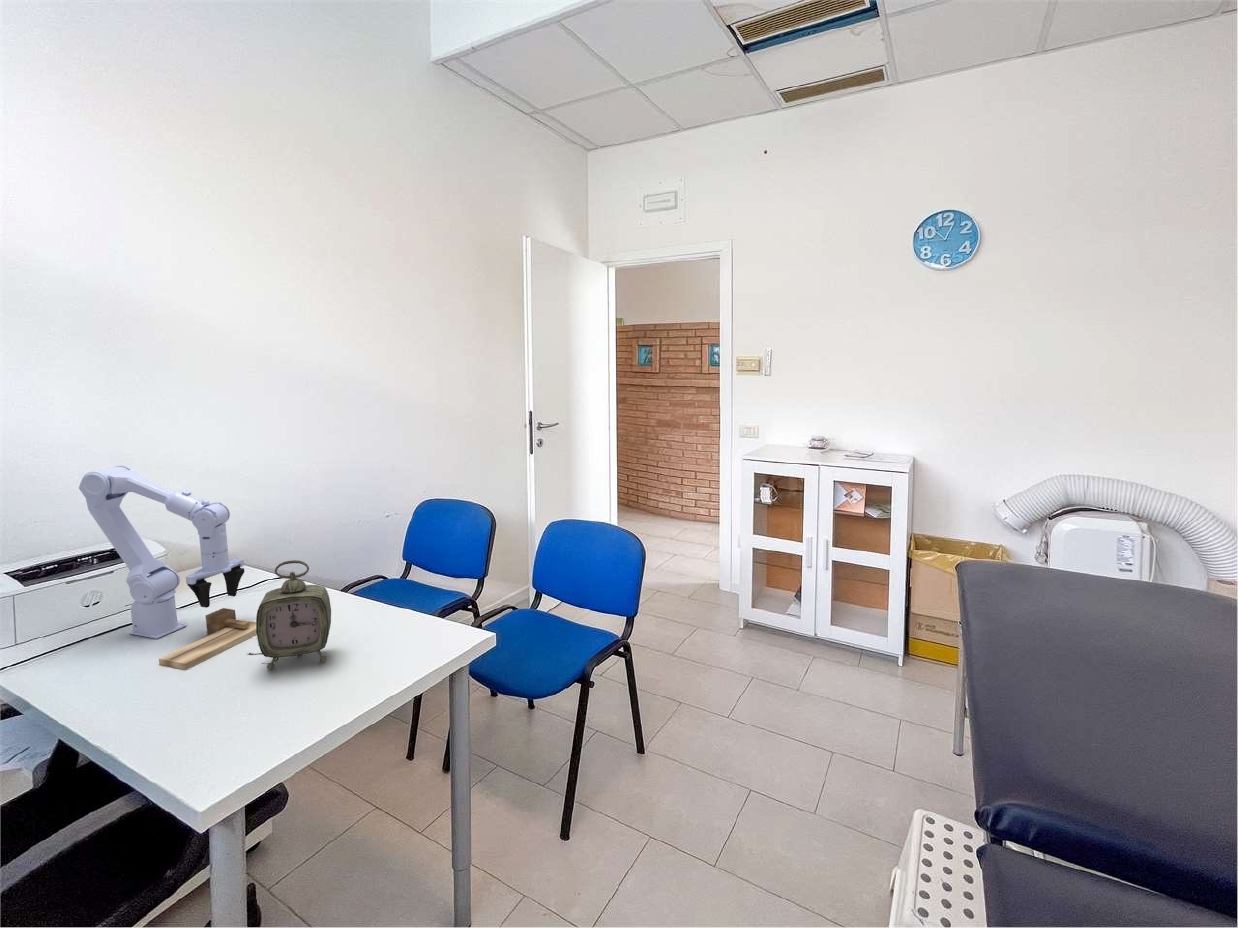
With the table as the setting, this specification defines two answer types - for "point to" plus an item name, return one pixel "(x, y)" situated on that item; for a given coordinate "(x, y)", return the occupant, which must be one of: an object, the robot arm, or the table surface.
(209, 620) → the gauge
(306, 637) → the tabletop clock
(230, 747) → the table surface
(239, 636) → the board
